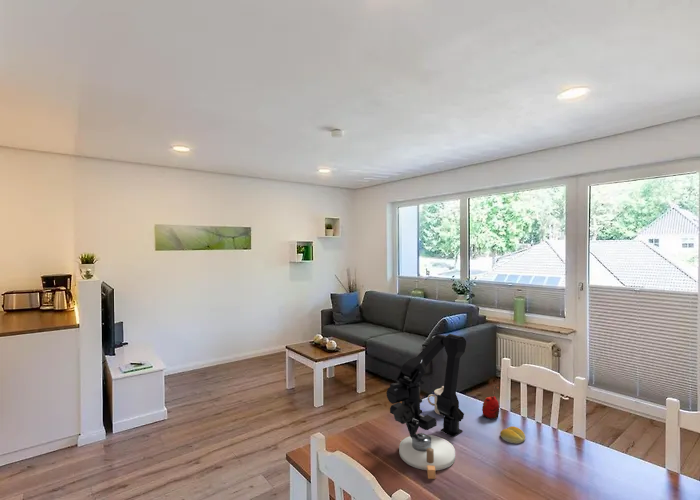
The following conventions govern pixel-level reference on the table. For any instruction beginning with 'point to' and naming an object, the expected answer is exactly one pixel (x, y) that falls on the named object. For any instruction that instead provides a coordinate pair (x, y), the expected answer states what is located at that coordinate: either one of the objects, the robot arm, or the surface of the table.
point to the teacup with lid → (436, 393)
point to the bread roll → (513, 435)
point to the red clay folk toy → (491, 407)
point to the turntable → (428, 454)
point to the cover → (421, 442)
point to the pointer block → (431, 472)
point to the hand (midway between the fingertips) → (412, 437)
